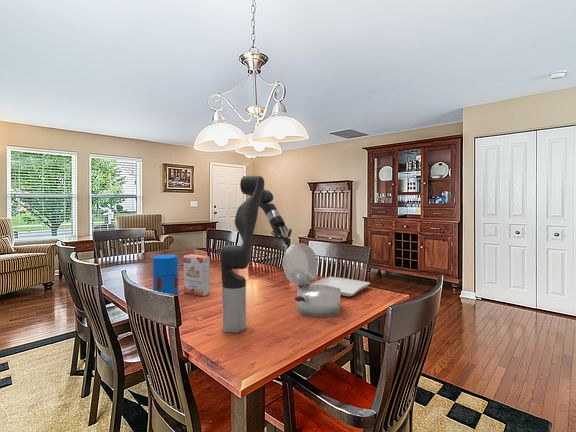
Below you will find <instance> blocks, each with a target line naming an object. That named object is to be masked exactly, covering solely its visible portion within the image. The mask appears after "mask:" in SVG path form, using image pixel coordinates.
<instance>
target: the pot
mask: <svg viewBox="0 0 576 432" xmlns="http://www.w3.org/2000/svg"><path fill="white" fill-rule="evenodd" d="M296 291H297V292H296V295H297V296H295V297H294V300H295V301H296V302H297V303H296V304H297V305H296V308H297V312H298V313H299V314H302V315H304V316H306V317H313V318H329V317H334V316H336V315H338V314H339V313H340V312H341V295H340V289H339V288H335V287H332V286H327V285H311V284H309V285H306V286H302V287H298V288H297V290H296Z"/></svg>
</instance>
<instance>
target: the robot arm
mask: <svg viewBox="0 0 576 432" xmlns="http://www.w3.org/2000/svg"><path fill="white" fill-rule="evenodd" d="M239 183H240V184H239V187H240V191H241V193H242V194H244V195H247V196H249V197H248V198H247V199H246V200H245V201H244V202H243V203H241V204H240V205H239V207H237V208H238V209H237V210H236V214H235V217H234V225H235V228H236V230H237V232H238V233H239V235H240V237H241V240H242V244H241V245H231V244H229V245H227V244H226V245H224V246H223V247H222V248H221V251H220V252H221V253H220V267H221V269H220V270H221V283H222V285H221V286H222V289H221V290H222V293H221V294H222V330H223V331H222V332H223V333H235V334H238V333H240V332H242V331H243V332H244V331H245V330H246V329H247V280H246V278H245V276H243V275H240V274H238V273H236V272H235V271H234V270H245V269H247V267H248V266H249V263H250V258H251V252H252V243H253V237H254V232H255V228H256V223H257V219H258V213H259V208H260V209H262V211H263V212H264V214H265V216H266V218H267V221H268V223H269V224H270V227H271V229H272V232H270V234H271V235H272V236H274V237H275V238H276V239H278V240H282V241H283V243H284V245H286V246H290V245H291V240H290V237H291V235H292V231H293V230H292V229H293V228H290V229H289V228H288V227H287V226H286V224H285V220H284V219H283V216H282V215H281V214H280V212H279V210H278V209H277V207H276V205H275V204H274V203H271V202H273V200H274V195H273V193H272V192H271V191H270V190H268V189H265V179H264V177H263V176H261V175H245V176H243V177H241V178H240V182H239Z"/></svg>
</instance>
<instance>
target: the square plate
mask: <svg viewBox="0 0 576 432" xmlns="http://www.w3.org/2000/svg"><path fill="white" fill-rule="evenodd" d="M370 284H371V282H369V281H365V280H364V281H362V280H356V279H350V278H346V277H345V278H344V277H335V276H327V277H326V278H325V277H324V278H322V279H319V280H318V281H315V282H313V283H311V284H310V285H327V286H332V287H335V288H339V289H340V296H341V295H342V297H352V296H354V295H356V294H357V293H358V292H360V291H361V290H364V289H365V288H367V287H368V286H369V285H370Z"/></svg>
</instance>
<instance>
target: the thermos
mask: <svg viewBox="0 0 576 432" xmlns="http://www.w3.org/2000/svg"><path fill="white" fill-rule="evenodd" d="M152 284H153V286H152V289H153V290H154V291H158V292H163V293H169V294H174V295H178V296H179V258H178V255H176V254H160V255H155V256H153V257H152ZM153 290H152V291H153ZM179 297H180V296H179Z"/></svg>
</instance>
